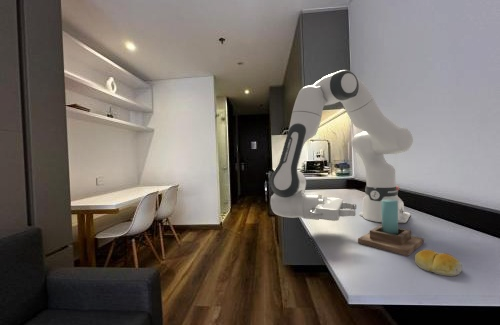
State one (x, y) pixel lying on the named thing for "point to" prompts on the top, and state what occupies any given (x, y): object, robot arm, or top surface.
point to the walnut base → (392, 241)
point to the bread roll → (438, 263)
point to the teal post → (390, 216)
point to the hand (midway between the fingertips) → (356, 209)
